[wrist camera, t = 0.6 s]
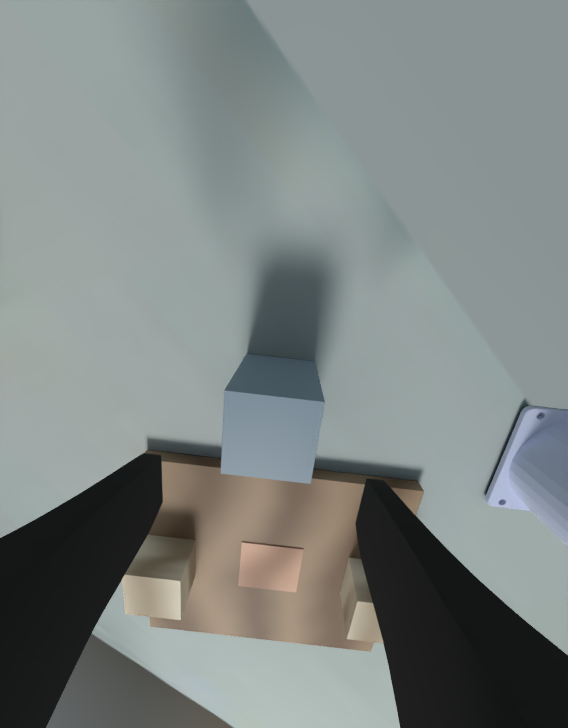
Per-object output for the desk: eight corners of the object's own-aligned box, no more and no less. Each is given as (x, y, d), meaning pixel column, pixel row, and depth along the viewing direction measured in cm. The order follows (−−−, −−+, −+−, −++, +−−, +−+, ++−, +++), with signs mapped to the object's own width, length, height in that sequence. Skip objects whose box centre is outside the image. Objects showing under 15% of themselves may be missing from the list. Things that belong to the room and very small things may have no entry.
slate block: (314, 361, 18) (324, 402, 12) (305, 421, 19) (310, 483, 13) (246, 353, 18) (224, 390, 12) (242, 413, 19) (220, 473, 13)
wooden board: (417, 481, 20) (446, 528, 16) (367, 637, 26) (380, 700, 22) (147, 450, 20) (112, 490, 16) (155, 613, 26) (131, 672, 22)
